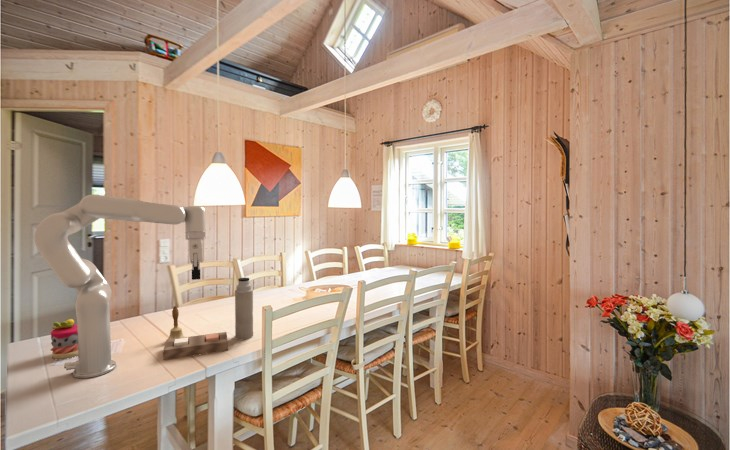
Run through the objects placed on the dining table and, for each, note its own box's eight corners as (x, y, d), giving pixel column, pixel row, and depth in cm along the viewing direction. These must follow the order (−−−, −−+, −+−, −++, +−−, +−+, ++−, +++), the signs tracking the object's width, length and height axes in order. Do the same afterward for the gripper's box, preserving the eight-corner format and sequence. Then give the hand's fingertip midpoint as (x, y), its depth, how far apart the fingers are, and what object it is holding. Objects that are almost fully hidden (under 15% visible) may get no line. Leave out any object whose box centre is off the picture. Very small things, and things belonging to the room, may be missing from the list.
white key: (174, 350, 142) (173, 343, 142) (175, 345, 146) (174, 339, 146) (187, 348, 144) (187, 341, 144) (188, 344, 149) (188, 337, 148)
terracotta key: (206, 345, 147) (205, 339, 147) (206, 341, 151) (205, 335, 151) (218, 344, 149) (218, 337, 149) (218, 339, 154) (218, 333, 153)
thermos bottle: (247, 332, 169) (247, 275, 168) (256, 336, 164) (256, 278, 162) (232, 336, 163) (231, 278, 162) (240, 341, 158) (240, 280, 156)
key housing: (163, 360, 137) (163, 350, 137) (166, 348, 148) (166, 339, 148) (227, 350, 147) (227, 341, 147) (226, 340, 158) (226, 331, 158)
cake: (57, 351, 144) (56, 316, 143) (88, 347, 148) (87, 313, 148) (46, 361, 135) (45, 324, 134) (79, 357, 139) (78, 321, 138)
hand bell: (177, 344, 153) (176, 309, 152) (161, 343, 154) (160, 308, 154) (190, 337, 161) (190, 304, 160) (175, 336, 163) (174, 303, 162)
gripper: (205, 236, 138) (205, 282, 139) (205, 234, 152) (206, 275, 153) (184, 237, 135) (184, 283, 136) (186, 234, 149) (187, 276, 150)
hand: (196, 279), depth 144 cm, fingers closed
